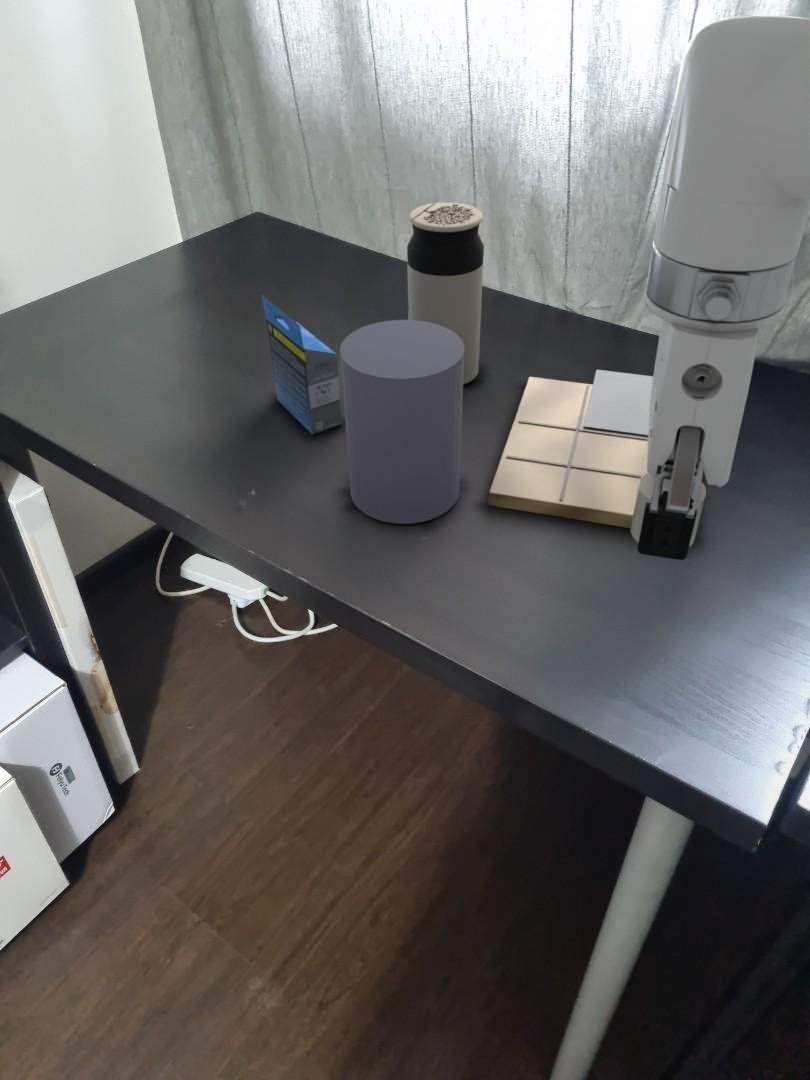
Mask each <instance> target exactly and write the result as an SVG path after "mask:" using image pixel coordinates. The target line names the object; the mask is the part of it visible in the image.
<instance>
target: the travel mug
mask: <svg viewBox="0 0 810 1080" xmlns="http://www.w3.org/2000/svg"><path fill="white" fill-rule="evenodd" d="M408 219H409V222H410V223H411V226H412V231H413V233H412V235H411V237H410V240H409V241H408V243H407V245H406V252H407V253H406V255H407V317H408V318H407V320H417V321H425V322H430V323H434V324H437V325H440V326H443V327H445V328H447V329H449V330H451V331H453V332H454V333H456V334H457V335H458V336H459V337H460V338H461V340H462V341H463V344H464V372H463V385H465V384H468V383H470V382H471V381H473V380H474V379H476V377H478V374H479V363H480V344H481V343H480V341H481V323H482V322H481V321H482V319H481V318H482V298H483V276H484V275H483V274H484V253H485V245H484V242H483V241H482V238H481V236H480V234H479V229H480V224H481V223H482V222H483V219H484V214H483V212H482V211H481V210H480V209H479V208H477V207H475V206H472V205H469V204H466V203H460V202H451V201H450V202H448V201H447V202H446V201H445V202H433V203H427V204H423V205H421V206H418V207H416V208H414V209H413V210H412V211H410V213H409V215H408Z"/></svg>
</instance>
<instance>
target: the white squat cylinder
mask: <svg viewBox="0 0 810 1080" xmlns="http://www.w3.org/2000/svg"><path fill="white" fill-rule="evenodd" d="M654 480H655V478H653V477H652V476H651V475H650V474H649V473H646V474H644V475H643V476H642V477H641V478H640V480H639V483H638V489H637V495H636V500H635V506H634V511H633V517H632V522H631V528H630V533H631V536H632V538H633V539H634V541H635V542H636V543H638V542H639V537H640V532H641V526H642V521H643V516H644V511H645V505H646V502H647V503H650V502H651V496H652V491H653V485H654ZM670 481H671V480H667V479H664V482H663V487H662V493H663V491H668V490H669V486H670ZM662 493H661V495H662ZM706 496H707V488H706V486H705V484H704V483H703V481H701V486H700V491H699V495H698V500H697V505H696V509H697V516H696V520H695V524H694V528H693V532H692V536H691V540H690V545H689V548H690V547H691V546H692V545H693V544H694V543H695V541H696V536H697V532H698V528H699V524H700V522H701V521H700V520H701V516H702V513H703V508H704V504H705V500H706Z"/></svg>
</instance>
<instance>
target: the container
mask: <svg viewBox="0 0 810 1080" xmlns="http://www.w3.org/2000/svg"><path fill="white" fill-rule="evenodd" d="M339 353H340V354H339V355H340V367H341V380H342V395H343V409H344V422H345V423H344V424H345V435H346V450H347V451H346V452H347V463H348V464H347V465H348V479H349V491H350V498H351V501H352V503H353V504H354V505H355V506H356V508H357V509H358V510H359V511H361V512H362V513H363V514H365V515H366V516H369V517H371V518H373V519H374V520H378V521H381V522H383V523H384V522H385V523H391V524H398V525H406V524H407V525H408V524H419V523H423V522H427V521H430V520H433V519H435V518H438V517H440V516H441V515H444V514H446V512H448V511H449V510H450V509H451V508H453V506H454V505H455V504H456V502H457V501H458V499H459V496H460V484H461V481H460V480H461V457H462V429H463V428H462V427H463V426H462V425H463V400H464V384H463V372H464V344H463V341H462V340H461V338H460V337H459V336H458V335H457V334H456V333H454V332H453V331H451V330H449V329H447V328H445V327H443V326H440V325H437V324H434V323H430V322H425V321H417V320H408V319H394V320H393V319H391V320H385V321H379V322H375V323H371V324H367V325H365V326H362V327H359V328H358V329H356V330H354V331H353V332H351V333H350V334H348V335H347V336H346V337H345V338H344V339H343V341H342V342H341V344H340V347H339Z"/></svg>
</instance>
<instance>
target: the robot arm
mask: <svg viewBox="0 0 810 1080" xmlns="http://www.w3.org/2000/svg"><path fill="white" fill-rule="evenodd" d="M674 100H675V101H674V105H673V112H672V118H671V123H670V124H671V125H670V132H669V137H668V138H669V139H668V143H667V152H666V157H665V163H664V170H663V175H662V182H661V188H660V196H659V202H658V206H657V207H658V208H657V214H656V220H655V228H654V232H653V241H652V245H651V253H650V258H649V264H648V271H647V278H646V283H645V288H644V289H645V290H644V295H643V301H644V304H645V307H646V308H647V309H648V311H650V312H651V313H652V314H653V315H655V316H656V317H658V318H659V319H661V323H660V330H659V336H658V342H657V349H656V354H655V362H654V367H653V368H654V370H653V382H652V391H651V401H650V413H649V430H648V452H647V471H648V473H649V474H650V475H651V476H652V477H653V478H655V480H654V485H653V491H652V496H651V502H650V503H647V502H646V505H645V511H644V516H643V521H642V526H641V532H640V537H639V542H637V553H639V554H640V555H642V556H643V555H644V556H645V555H646V556H651V557H657V558H665V559H670V560H676V561H684V560H685V559H686V558H687V557H688V552H689V548H690V547H689V545H690V540H691V536H692V532H693V528H694V524H695V520H696V516H697V509H696V505H697V500H698V495H699V491H700V486H701V482H703V479H704V478H703V477H705V480H706V483H707V485H709V486H716V487H717V488H721V487H724V486H725V485H726V484H727V483H729V480H730V476H731V471H732V467H733V462H734V457H735V452H736V447H737V443H738V439H739V435H740V430H741V424H742V421H743V417H744V412H745V408H746V403H747V399H748V394H749V389H750V385H751V381H752V375H753V370H754V364H755V359H756V353H757V346H758V340H759V333H760V329H761V328H764V327H767V326H769V325H771V324H773V323H775V322H776V321H777V320H778V319H779V318H780V317H781V314H782V312H783V309H784V306H785V301H786V297H787V293H788V290H789V285H790V282H791V279H792V275H793V271H794V268H795V264H796V260H797V257H798V254H799V251H800V247H801V243H802V239H803V236H804V231H805V229H806V225H807V221H808V217H809V213H810V18H809V17H803V16H793V15H774V14H773V15H770V14H769V15H768V14H767V15H765V14H763V15H762V14H761V15H748V16H747V15H746V16H735V17H729V18H723V19H719V20H716V21H713V22H711V23H708V24H705V26H703V27H702V28H700V29H699V30H697V31H696V32H695V33H694V34H693V36H692V38H691V39H690V40H689V42H688V44H687V46H686V48H685V50H684V53H683V55H682V59H681V64H680V69H679V74H678V81H677V86H676V92H675V98H674ZM664 479H667V480H671V481H670V486H669V490H668V491H663V493H662V487H663V482H664ZM661 493H662V495H661Z"/></svg>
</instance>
